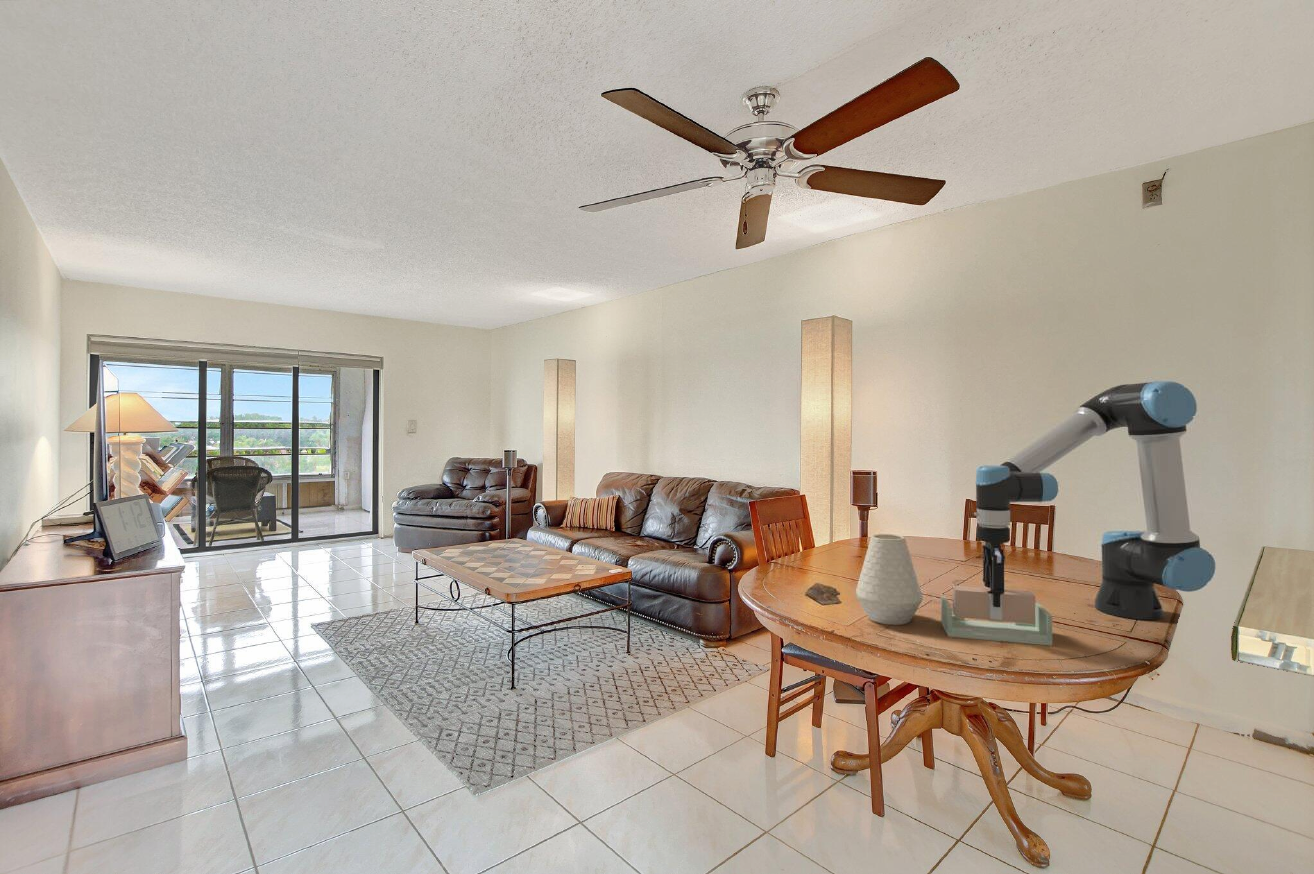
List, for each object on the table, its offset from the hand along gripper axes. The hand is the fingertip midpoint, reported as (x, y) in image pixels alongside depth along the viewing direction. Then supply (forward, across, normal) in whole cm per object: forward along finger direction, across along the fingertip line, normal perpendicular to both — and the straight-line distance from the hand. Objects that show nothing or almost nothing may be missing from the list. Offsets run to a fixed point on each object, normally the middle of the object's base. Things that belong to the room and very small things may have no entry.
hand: (993, 615), depth 152 cm
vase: (+5, -5, -25) cm, 26 cm away
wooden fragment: (+5, -26, -44) cm, 51 cm away
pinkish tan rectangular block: (+1, 0, 0) cm, 1 cm away
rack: (+5, 0, 0) cm, 5 cm away
